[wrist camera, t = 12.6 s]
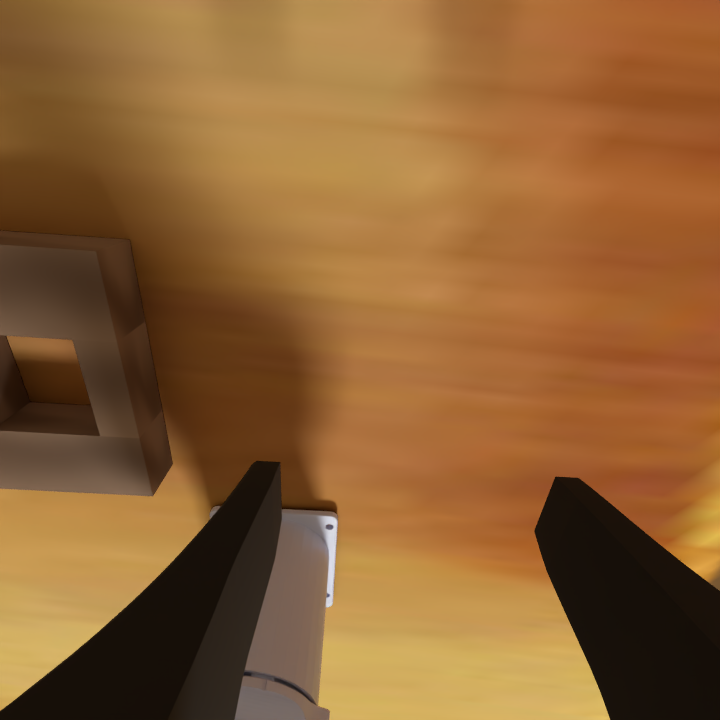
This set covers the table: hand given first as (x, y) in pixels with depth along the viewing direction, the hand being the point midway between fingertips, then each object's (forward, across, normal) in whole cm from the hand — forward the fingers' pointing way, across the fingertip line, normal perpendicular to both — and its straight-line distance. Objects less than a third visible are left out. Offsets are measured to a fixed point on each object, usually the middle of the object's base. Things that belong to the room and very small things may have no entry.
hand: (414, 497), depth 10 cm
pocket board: (+10, +16, +2) cm, 20 cm away
